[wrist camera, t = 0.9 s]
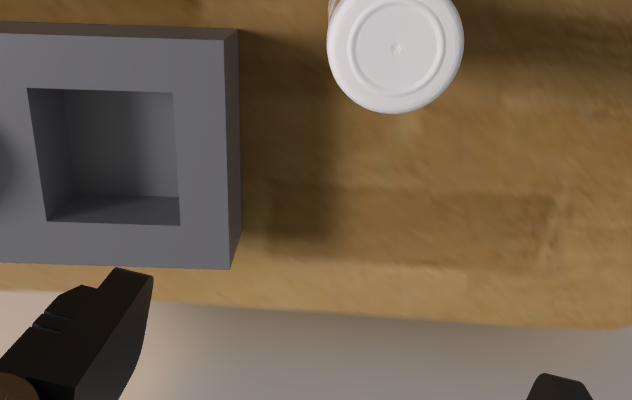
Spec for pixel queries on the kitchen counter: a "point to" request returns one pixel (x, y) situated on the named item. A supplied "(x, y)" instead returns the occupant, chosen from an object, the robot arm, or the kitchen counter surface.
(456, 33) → the sprinkles bottle
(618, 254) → the kitchen counter surface
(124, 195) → the tray
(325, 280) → the kitchen counter surface
